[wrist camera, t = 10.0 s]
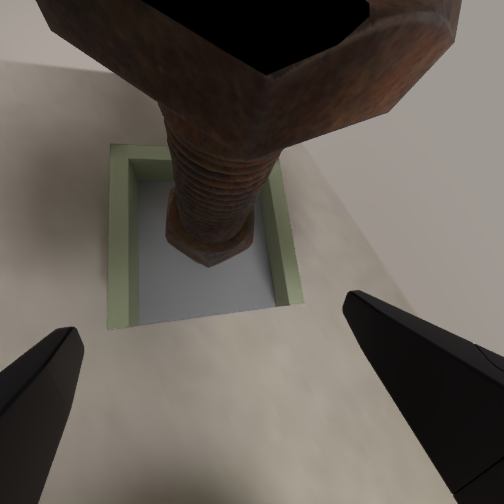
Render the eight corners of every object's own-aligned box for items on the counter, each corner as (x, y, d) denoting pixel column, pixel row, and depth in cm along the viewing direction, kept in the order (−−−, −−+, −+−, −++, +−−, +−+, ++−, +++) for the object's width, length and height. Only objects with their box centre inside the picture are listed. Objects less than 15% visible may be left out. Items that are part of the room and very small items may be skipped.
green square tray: (286, 305, 17) (304, 303, 14) (123, 327, 14) (106, 330, 12) (265, 175, 20) (277, 151, 17) (124, 172, 17) (110, 143, 14)
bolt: (149, 250, 15) (-313, -404, 1) (192, 196, 17) (183, -340, 3) (222, 296, 16) (449, 144, 2) (258, 239, 18) (515, -71, 3)
